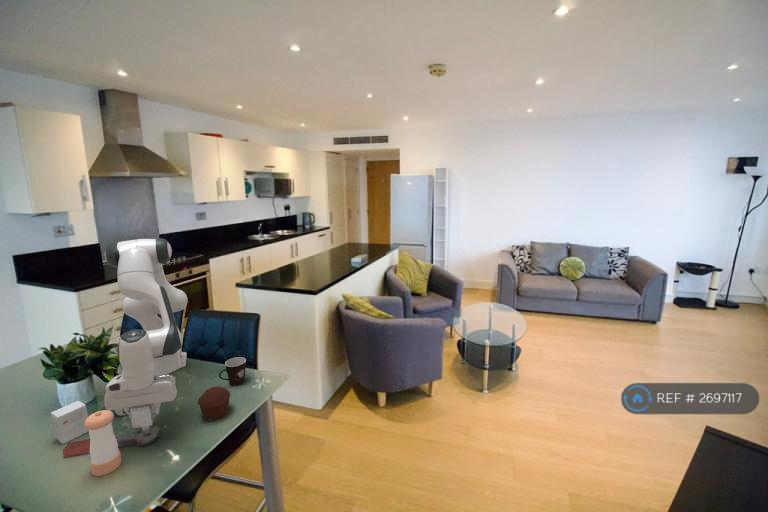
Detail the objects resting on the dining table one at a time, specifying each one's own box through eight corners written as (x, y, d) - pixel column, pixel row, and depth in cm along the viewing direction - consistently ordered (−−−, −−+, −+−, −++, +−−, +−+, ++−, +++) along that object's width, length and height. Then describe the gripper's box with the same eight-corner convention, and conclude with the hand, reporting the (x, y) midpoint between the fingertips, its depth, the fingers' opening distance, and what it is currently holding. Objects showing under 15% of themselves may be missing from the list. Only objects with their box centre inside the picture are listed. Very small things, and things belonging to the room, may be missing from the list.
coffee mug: (245, 375, 160) (244, 355, 158) (248, 384, 152) (247, 363, 150) (218, 382, 154) (216, 361, 152) (220, 391, 146) (218, 370, 145)
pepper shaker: (116, 472, 104) (107, 416, 100) (87, 478, 102) (77, 422, 98) (125, 455, 111) (117, 402, 107) (98, 461, 108) (88, 407, 105)
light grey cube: (139, 417, 118) (136, 399, 117) (157, 414, 120) (155, 396, 119) (132, 428, 113) (129, 409, 112) (152, 425, 115) (149, 406, 113)
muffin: (210, 403, 138) (208, 381, 136) (236, 404, 138) (235, 382, 136) (192, 422, 127) (190, 398, 125) (221, 424, 126) (219, 399, 124)
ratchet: (73, 446, 115) (70, 430, 113) (162, 430, 122) (161, 416, 121) (60, 461, 108) (57, 445, 107) (156, 444, 116) (154, 429, 115)
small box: (83, 425, 125) (79, 399, 123) (91, 430, 122) (86, 404, 120) (55, 439, 118) (49, 412, 116) (62, 445, 115) (57, 417, 113)
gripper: (177, 369, 120) (181, 404, 122) (108, 378, 114) (114, 414, 116) (172, 378, 114) (176, 415, 116) (99, 388, 108) (105, 426, 110)
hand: (144, 415), depth 116 cm, fingers closed on light grey cube, 6 cm apart
